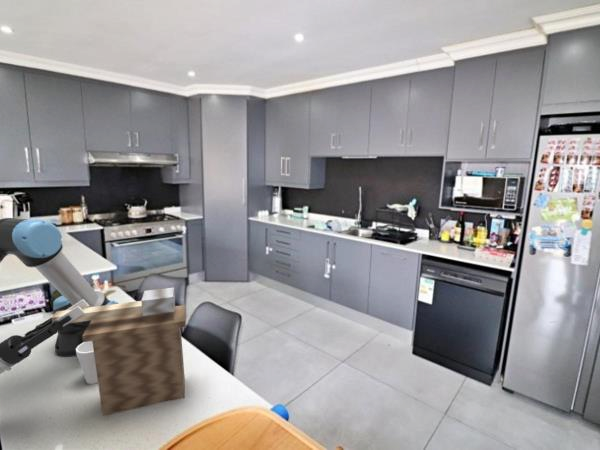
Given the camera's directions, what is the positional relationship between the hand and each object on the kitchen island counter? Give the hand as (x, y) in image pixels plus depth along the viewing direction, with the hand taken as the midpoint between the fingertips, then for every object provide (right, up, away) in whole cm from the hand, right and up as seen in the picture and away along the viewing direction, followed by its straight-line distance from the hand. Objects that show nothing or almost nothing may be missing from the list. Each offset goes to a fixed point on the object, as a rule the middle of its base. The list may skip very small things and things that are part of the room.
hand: (83, 306), depth 98 cm
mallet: (+8, -3, +4) cm, 10 cm away
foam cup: (-9, -31, +20) cm, 39 cm away
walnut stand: (+13, -33, +12) cm, 38 cm away
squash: (-57, -20, +75) cm, 96 cm away
